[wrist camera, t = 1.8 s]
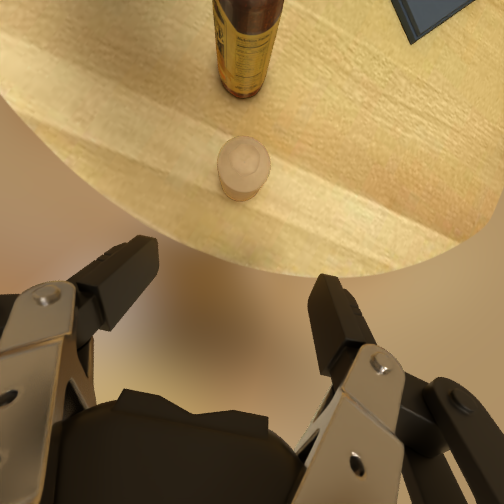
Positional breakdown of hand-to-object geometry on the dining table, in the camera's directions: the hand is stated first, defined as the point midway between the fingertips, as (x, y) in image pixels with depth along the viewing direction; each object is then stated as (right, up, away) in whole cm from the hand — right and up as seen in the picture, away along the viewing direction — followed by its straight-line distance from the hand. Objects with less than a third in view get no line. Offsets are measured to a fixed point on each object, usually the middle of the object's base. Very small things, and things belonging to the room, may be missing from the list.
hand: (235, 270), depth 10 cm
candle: (-1, +11, +19) cm, 22 cm away
